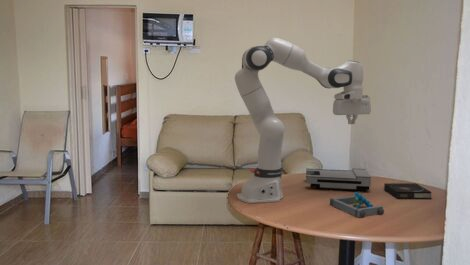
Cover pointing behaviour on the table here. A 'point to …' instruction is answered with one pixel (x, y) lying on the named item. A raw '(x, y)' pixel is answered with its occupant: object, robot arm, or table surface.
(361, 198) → the gear
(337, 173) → the game console
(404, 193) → the portable cd player
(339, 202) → the u-shaped wheeled base
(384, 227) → the table surface
